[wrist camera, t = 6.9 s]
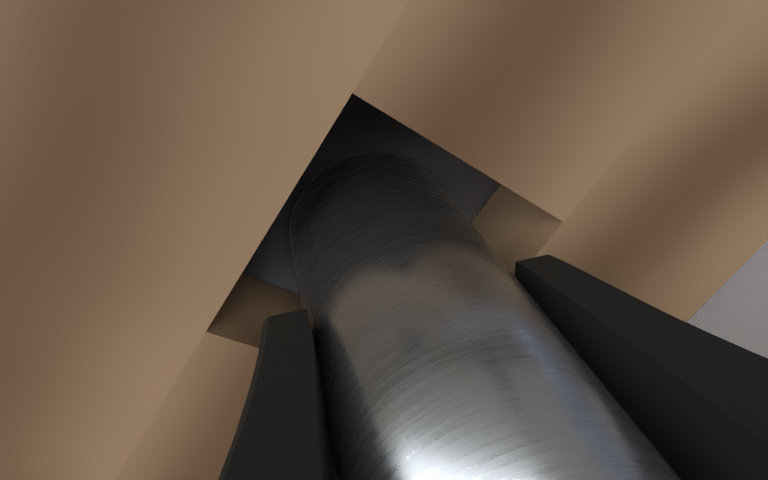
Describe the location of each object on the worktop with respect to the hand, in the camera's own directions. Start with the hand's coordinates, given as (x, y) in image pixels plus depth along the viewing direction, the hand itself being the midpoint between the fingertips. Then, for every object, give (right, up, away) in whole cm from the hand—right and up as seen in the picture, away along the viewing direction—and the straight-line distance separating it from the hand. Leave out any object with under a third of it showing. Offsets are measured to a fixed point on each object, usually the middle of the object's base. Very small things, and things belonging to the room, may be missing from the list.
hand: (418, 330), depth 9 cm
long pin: (-1, +2, +3) cm, 3 cm away
